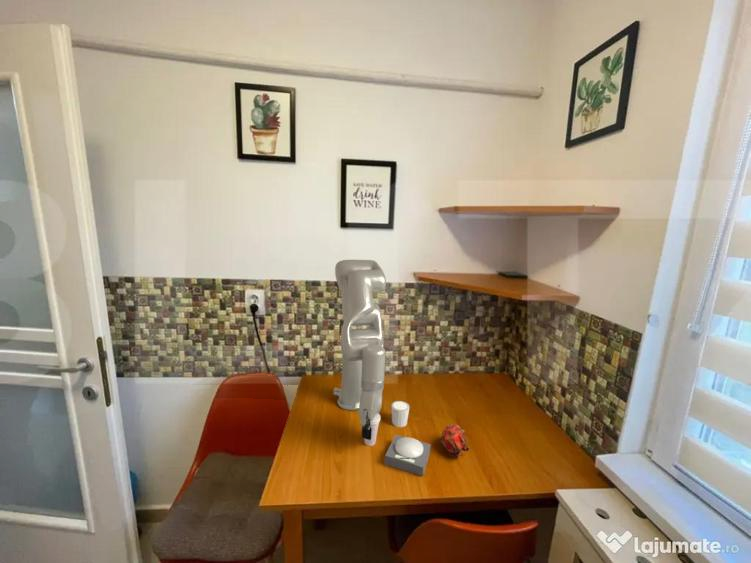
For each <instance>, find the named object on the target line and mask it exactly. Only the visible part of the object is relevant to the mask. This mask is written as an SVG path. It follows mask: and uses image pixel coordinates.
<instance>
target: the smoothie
mask: <svg viewBox="0 0 751 563" xmlns="http://www.w3.org/2000/svg"><path fill="white" fill-rule="evenodd" d="M367 418H369V417H368V416H367ZM369 419H370V418H369ZM380 422H381V415H380V414H377V415H376V417H375V418H374V419H373V420H372V423H371V428H372V432H371V440H368V439H365V438H363V439H364V440H363V441H364V444H365V445H366V446H369V447H372V446H374V445H375V444H376V441H377V435H378V429H379V427H378V425H379V426H380ZM366 424H368V425H369V421H366Z"/></svg>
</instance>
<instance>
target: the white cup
mask: <svg viewBox="0 0 751 563" xmlns="http://www.w3.org/2000/svg"><path fill="white" fill-rule="evenodd" d="M390 408H391V424H392V425H393V426H395V427H397V428H403V427H406V426H407V424H408V421H409V420H408V419H409V412H410V404H409V403H407V402H405V401H402V400H396V401H393V402H392V403H391V407H390Z"/></svg>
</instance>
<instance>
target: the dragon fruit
mask: <svg viewBox="0 0 751 563" xmlns="http://www.w3.org/2000/svg"><path fill="white" fill-rule="evenodd" d="M465 434H466V431H465V429H462V428H461V427H460V426H459V425H458V424H453V423H452V424H451V425H447V426H446V427H445V429H442V435H441V441H440V442H441V443H442V444H441V445H442V446H443V447H444V448H445V450H446V452H447V453H448V455H450V456H451V457H454V455H455V456H456V457H457V458H458V457H460V456H462V451H463V452H468V451H469V450H470V446H467V443H466V442H467V440H468V439H467V437H466V436H464V435H465Z"/></svg>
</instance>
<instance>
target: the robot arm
mask: <svg viewBox="0 0 751 563" xmlns="http://www.w3.org/2000/svg"><path fill="white" fill-rule="evenodd" d="M334 270H335V271H334V275H335V279H336V283H337V285H338V286H337V287H338V288H339V290H340V291H339V292H340V294H341V295H340V296H341V309H342V310H341V312H342V320H343V324H342V326H341V332H340V348H341V357H342V360H341V361H342V362H341V364H342V365H341V388H339V387H336V386H335V387H334V388H333V395H334V396H337V397H338V398H337V404H338V406H339V407H340V408H341V409H344V410H346V411H358V418H359V419H361V420H360V424H359V425H360V426H361V438H363V439H364V438H365V439H368V440H371V432H372V428H371V423H372V420H373V419H374V418H375V417H376V415H377V414H379V415H380V411H381V409H382V405H383V390H384V388H385V387H384V386H385V370H386V369H385V368H386V367H385V366H386V350H385V348H384V342H385V341H384V330H383V318H382V313H381V312H382V311H381V308H380V306H379V304H378V303H376V302H374V298H373V292H375V293H377V292H383V291H384V290H385V288H386V286H387V278H386V275H385V273H384V270H383V269H382V268H381V266H380V265H379V264H378V262H377V261H375V260H371V259H344V260H343V259H342V260H339V261H338V262H336V265H335V268H334ZM356 326H368V327H369V328H352V327H356ZM367 416H368V417H369V418H370V419H369V418H367ZM366 421H369V425H368V424H366ZM379 426H380V424H379V425H378V428H379Z"/></svg>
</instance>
